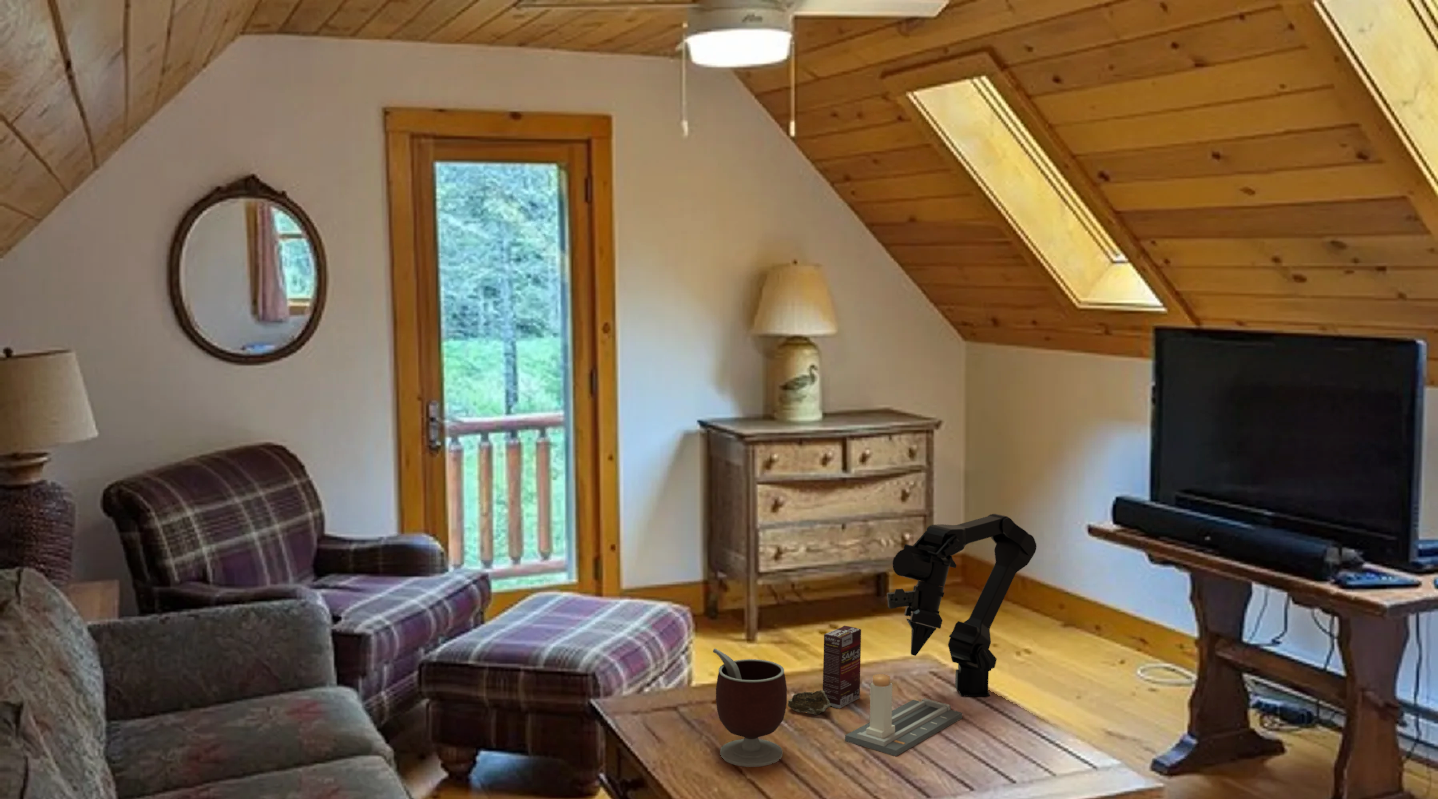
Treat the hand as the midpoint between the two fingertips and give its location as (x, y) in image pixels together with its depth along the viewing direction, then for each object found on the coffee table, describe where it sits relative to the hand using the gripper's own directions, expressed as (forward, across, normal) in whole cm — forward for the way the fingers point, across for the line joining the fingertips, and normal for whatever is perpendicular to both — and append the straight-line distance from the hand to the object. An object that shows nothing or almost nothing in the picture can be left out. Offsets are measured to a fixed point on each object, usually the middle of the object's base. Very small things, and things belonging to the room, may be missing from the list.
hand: (913, 655), depth 266 cm
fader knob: (+16, +15, -4) cm, 22 cm away
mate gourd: (+26, +21, -29) cm, 44 cm away
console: (+14, +7, +1) cm, 16 cm away
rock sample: (+18, -2, -18) cm, 26 cm away
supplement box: (+15, -8, -12) cm, 20 cm away
